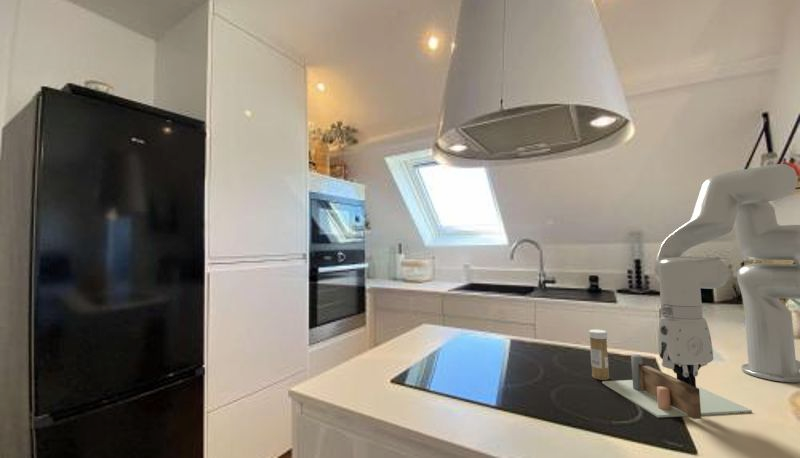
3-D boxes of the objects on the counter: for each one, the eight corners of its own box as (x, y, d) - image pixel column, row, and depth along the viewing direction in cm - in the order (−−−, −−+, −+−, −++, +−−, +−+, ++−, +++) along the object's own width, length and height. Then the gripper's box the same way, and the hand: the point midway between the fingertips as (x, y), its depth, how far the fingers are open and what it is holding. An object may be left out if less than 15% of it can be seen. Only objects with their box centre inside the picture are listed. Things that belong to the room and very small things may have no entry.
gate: (701, 418, 75) (699, 388, 76) (694, 419, 75) (691, 389, 75) (646, 388, 91) (644, 364, 91) (640, 389, 91) (638, 364, 91)
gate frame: (678, 379, 100) (675, 347, 100) (752, 412, 80) (748, 371, 80) (602, 383, 99) (600, 350, 99) (657, 417, 79) (655, 376, 79)
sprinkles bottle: (613, 379, 101) (610, 332, 101) (598, 381, 100) (595, 333, 101) (602, 374, 105) (599, 328, 106) (588, 375, 105) (585, 329, 105)
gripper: (666, 317, 78) (672, 402, 77) (725, 313, 80) (732, 396, 79) (639, 311, 85) (644, 388, 84) (694, 307, 87) (699, 383, 86)
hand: (686, 392), depth 82 cm, fingers closed
